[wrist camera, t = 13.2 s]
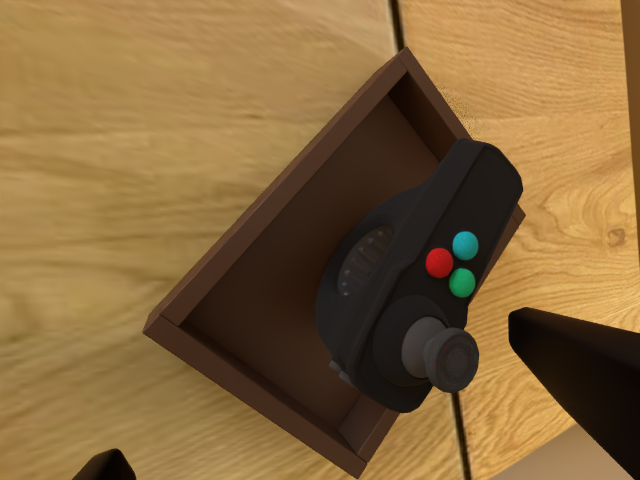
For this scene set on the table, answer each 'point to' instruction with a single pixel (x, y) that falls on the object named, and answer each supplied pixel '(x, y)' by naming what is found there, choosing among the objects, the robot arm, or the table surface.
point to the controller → (417, 280)
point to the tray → (310, 265)
